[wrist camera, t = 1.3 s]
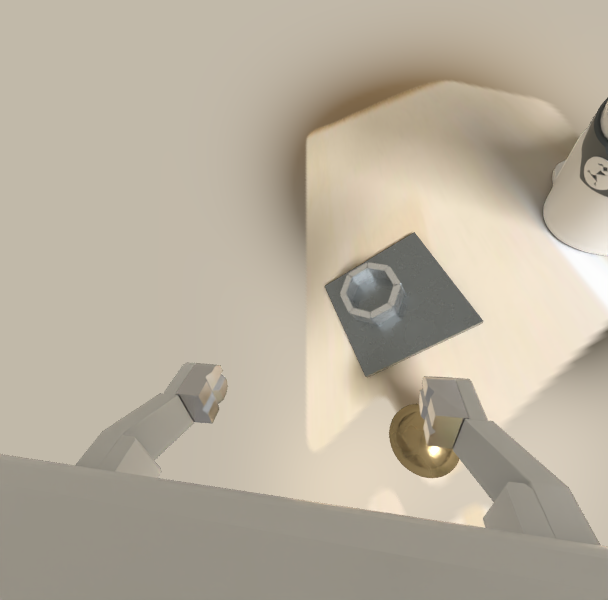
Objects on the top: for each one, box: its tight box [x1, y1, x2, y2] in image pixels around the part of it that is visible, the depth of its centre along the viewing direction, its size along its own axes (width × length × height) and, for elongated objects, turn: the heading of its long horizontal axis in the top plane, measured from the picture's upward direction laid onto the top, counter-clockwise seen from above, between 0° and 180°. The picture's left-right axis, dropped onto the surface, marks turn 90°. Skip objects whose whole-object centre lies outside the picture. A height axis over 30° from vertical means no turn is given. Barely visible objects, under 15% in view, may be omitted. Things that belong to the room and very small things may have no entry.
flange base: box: [325, 232, 483, 377], centre depth 43 cm, size 18×18×4 cm
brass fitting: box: [389, 404, 459, 478], centre depth 31 cm, size 6×6×12 cm
